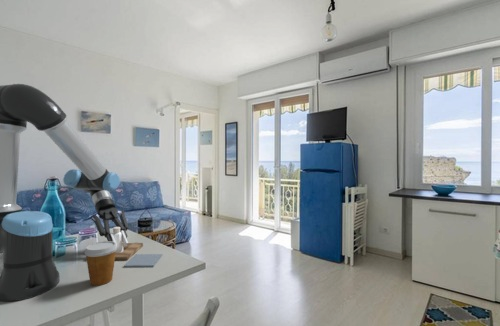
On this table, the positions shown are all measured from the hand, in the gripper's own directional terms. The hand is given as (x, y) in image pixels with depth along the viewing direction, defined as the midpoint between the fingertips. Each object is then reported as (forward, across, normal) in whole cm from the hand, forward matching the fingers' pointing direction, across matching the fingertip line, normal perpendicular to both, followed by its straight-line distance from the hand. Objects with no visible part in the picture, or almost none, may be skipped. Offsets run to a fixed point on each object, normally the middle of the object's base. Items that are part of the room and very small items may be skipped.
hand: (121, 246), depth 106 cm
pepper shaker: (0, 0, -6) cm, 6 cm away
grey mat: (+12, -3, +7) cm, 14 cm away
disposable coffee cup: (+15, +15, +10) cm, 23 cm away
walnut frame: (0, 0, -5) cm, 5 cm away
